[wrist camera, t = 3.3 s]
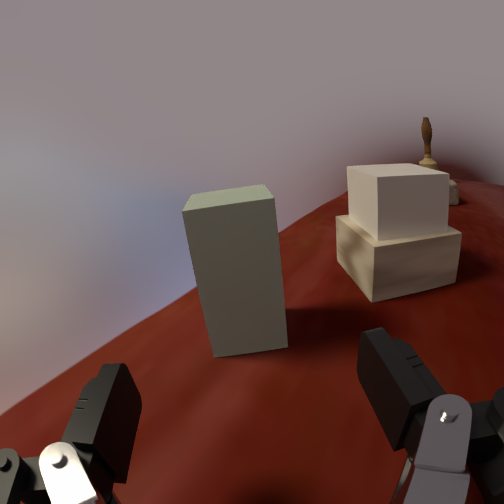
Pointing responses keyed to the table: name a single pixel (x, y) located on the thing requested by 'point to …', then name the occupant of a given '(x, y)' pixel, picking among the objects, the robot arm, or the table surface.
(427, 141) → the hand bell
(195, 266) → the sage pillar
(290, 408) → the table surface
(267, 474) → the table surface
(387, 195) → the tower top
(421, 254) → the tower base
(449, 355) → the table surface
